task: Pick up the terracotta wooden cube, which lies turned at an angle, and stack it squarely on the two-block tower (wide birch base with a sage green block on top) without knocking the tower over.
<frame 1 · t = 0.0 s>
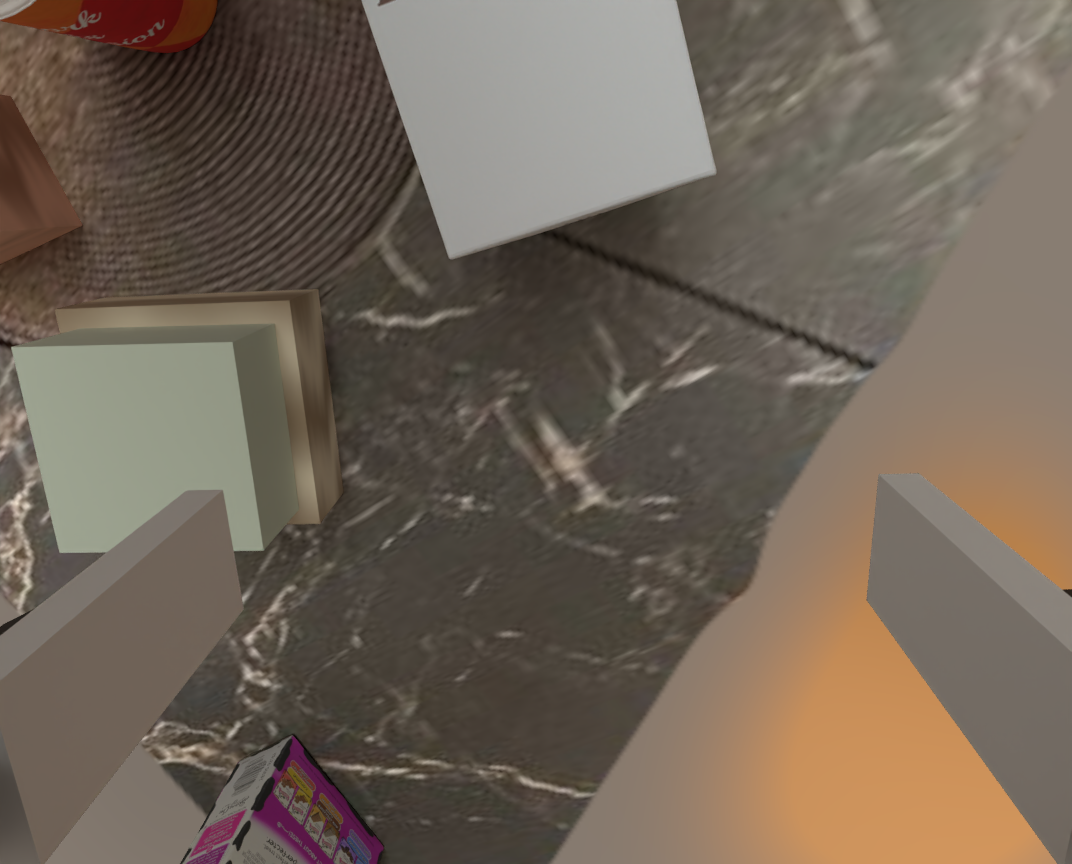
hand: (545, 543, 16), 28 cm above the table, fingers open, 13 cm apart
candy bar box: (313, 802, 53), on the table
tower base: (232, 395, 45), on the table
tower top: (192, 421, 40), point 5 cm above the table
supplement box: (549, 121, 39), on the table
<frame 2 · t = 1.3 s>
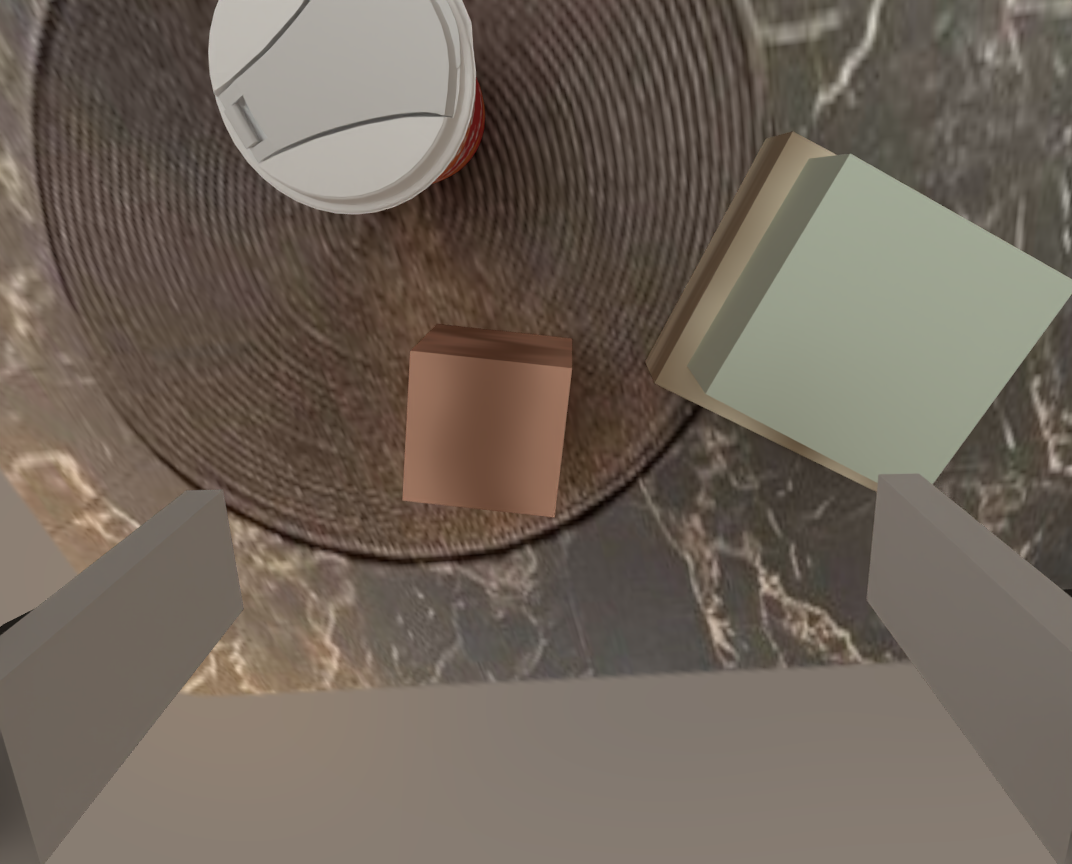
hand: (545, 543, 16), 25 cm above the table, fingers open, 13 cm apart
tower base: (805, 307, 39), on the table, touching tower top
tower top: (842, 319, 34), point 5 cm above the table, touching tower base
terracotta cube: (498, 396, 41), on the table
coffee cup: (425, 115, 37), on the table
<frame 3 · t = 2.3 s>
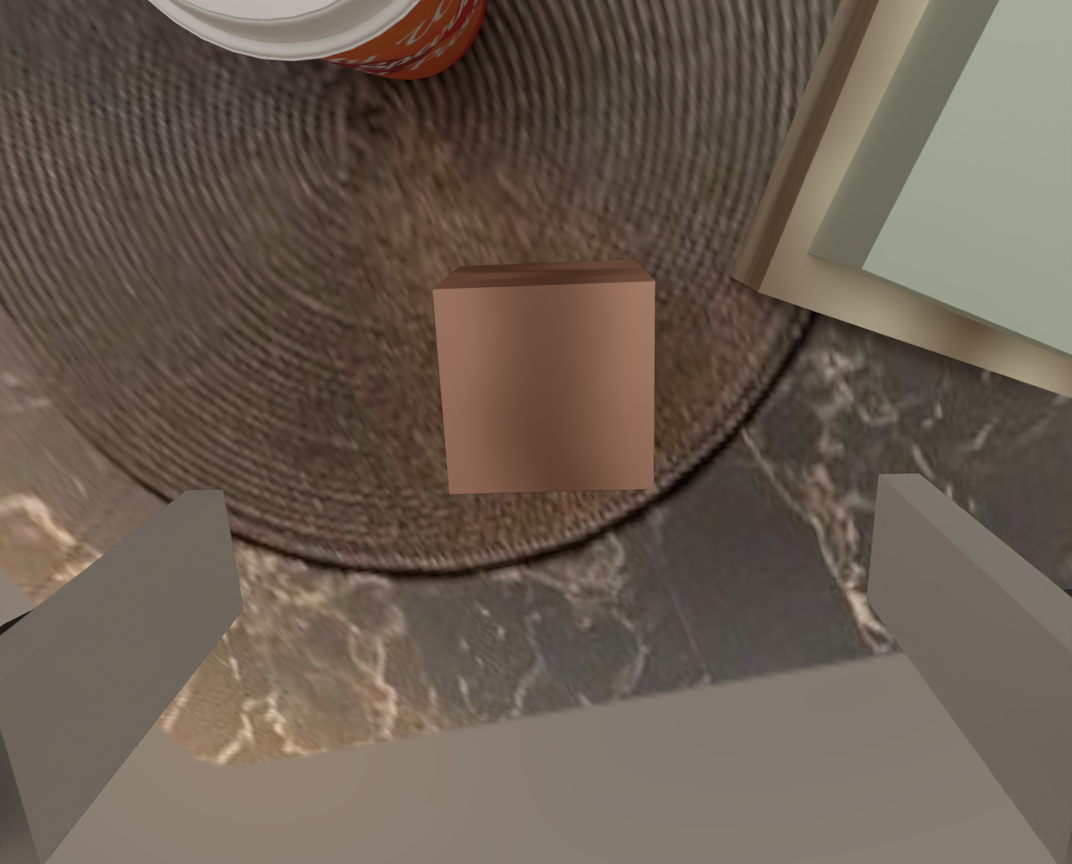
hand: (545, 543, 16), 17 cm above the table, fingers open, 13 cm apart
tower base: (933, 174, 30), on the table
tower top: (1019, 161, 25), point 5 cm above the table
terracotta cube: (550, 348, 32), on the table
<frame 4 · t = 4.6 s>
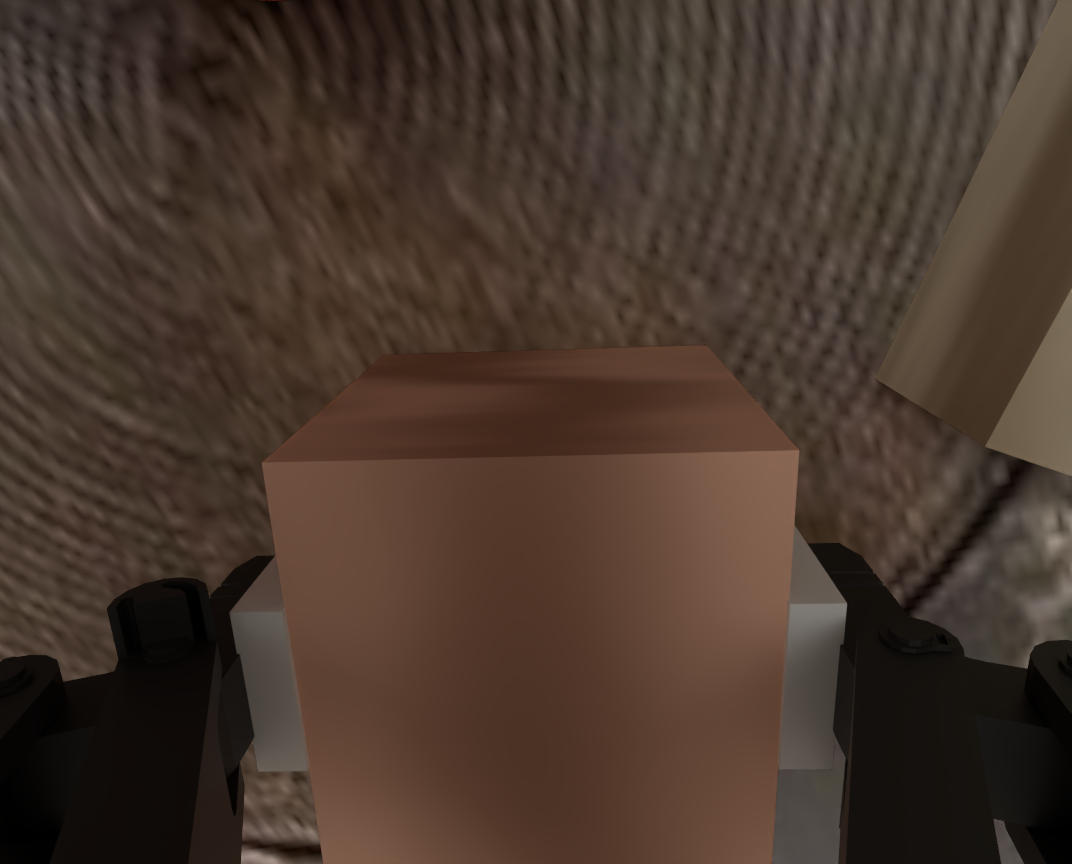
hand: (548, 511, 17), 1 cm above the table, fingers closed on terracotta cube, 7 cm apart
terracotta cube: (549, 499, 18), on the table, touching gripper
when the fingers open (12 cm above the table, at t = 9.9 s): terracotta cube drops 1 cm, point 9 cm above the table.
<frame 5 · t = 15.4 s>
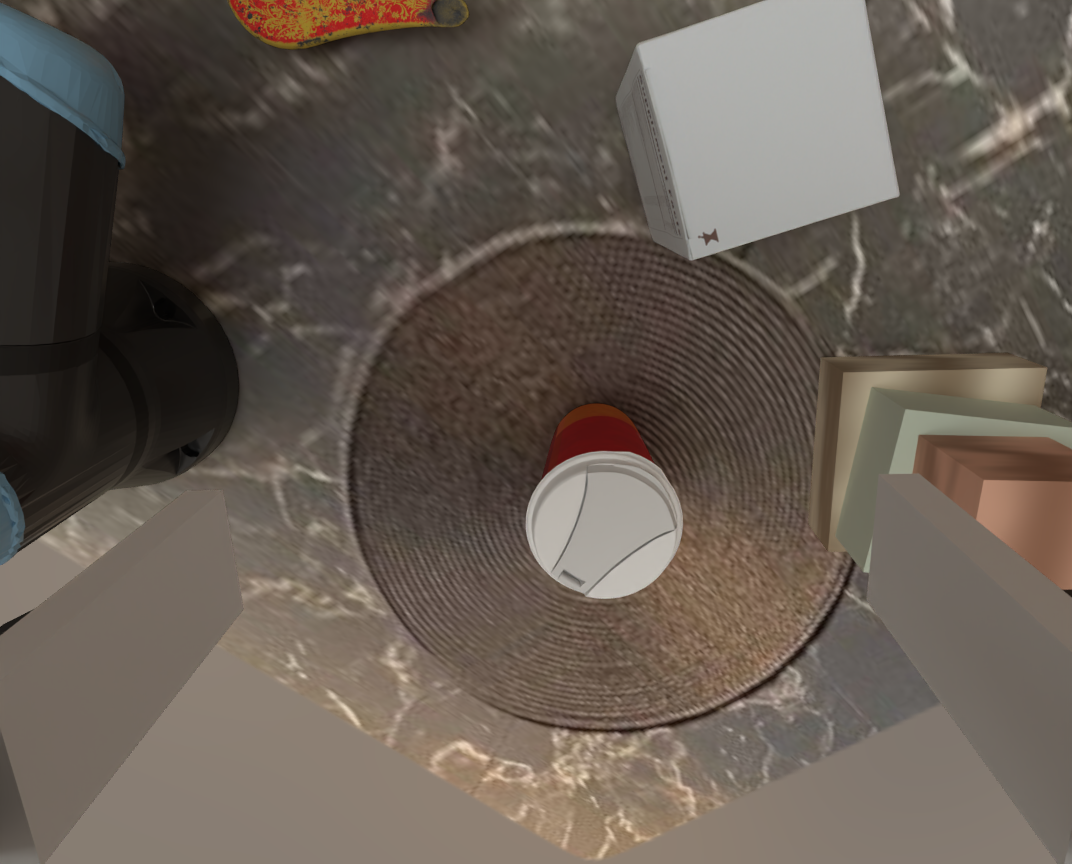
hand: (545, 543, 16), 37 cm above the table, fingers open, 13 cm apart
magic lamp: (336, 4, 46), on the table
tower base: (900, 439, 53), on the table, touching tower top
tower top: (931, 472, 48), point 4 cm above the table, touching tower base
supplement box: (704, 147, 48), on the table
terracotta cube: (972, 494, 43), point 9 cm above the table
coffee cup: (596, 442, 54), on the table
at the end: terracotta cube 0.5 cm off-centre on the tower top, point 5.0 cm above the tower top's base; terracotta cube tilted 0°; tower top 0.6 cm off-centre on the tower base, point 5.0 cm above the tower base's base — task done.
